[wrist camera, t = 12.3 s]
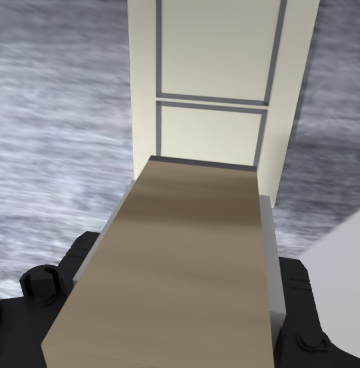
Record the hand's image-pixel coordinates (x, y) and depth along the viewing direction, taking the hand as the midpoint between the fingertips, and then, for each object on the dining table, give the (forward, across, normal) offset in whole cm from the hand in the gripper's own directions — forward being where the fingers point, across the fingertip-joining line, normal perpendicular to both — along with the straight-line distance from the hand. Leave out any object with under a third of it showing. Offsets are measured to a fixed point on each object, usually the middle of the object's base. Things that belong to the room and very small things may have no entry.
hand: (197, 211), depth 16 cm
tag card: (+7, 0, +4) cm, 8 cm away
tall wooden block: (+1, 0, 0) cm, 1 cm away
